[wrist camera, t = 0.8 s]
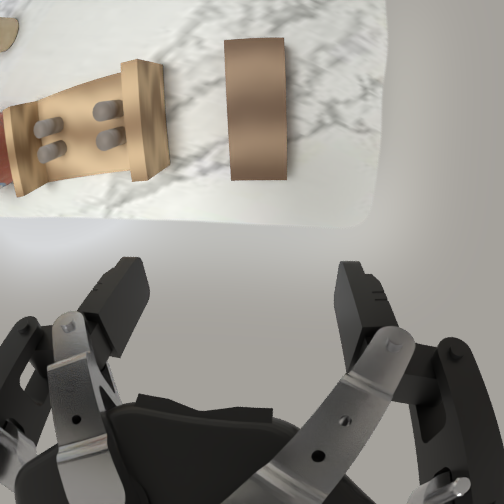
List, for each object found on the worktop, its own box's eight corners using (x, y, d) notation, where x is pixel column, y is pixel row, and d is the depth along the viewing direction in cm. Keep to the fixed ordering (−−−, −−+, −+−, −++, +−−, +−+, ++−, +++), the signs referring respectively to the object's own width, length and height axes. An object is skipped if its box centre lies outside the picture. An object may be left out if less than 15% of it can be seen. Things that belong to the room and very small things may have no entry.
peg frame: (34, 103, 25) (2, 110, 20) (162, 64, 23) (137, 59, 18) (45, 181, 30) (16, 197, 25) (170, 164, 29) (147, 180, 24)
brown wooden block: (231, 47, 23) (224, 40, 19) (282, 46, 22) (283, 37, 19) (236, 170, 29) (231, 180, 26) (285, 169, 29) (286, 180, 25)
